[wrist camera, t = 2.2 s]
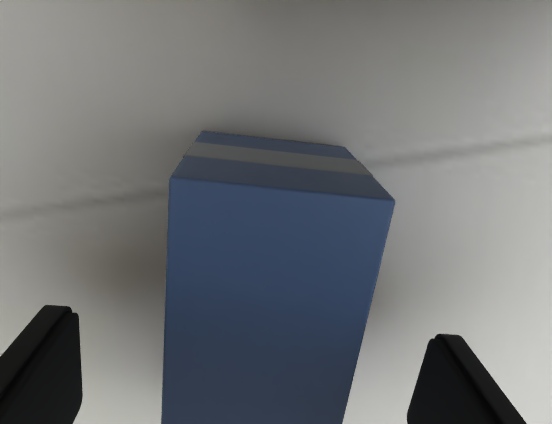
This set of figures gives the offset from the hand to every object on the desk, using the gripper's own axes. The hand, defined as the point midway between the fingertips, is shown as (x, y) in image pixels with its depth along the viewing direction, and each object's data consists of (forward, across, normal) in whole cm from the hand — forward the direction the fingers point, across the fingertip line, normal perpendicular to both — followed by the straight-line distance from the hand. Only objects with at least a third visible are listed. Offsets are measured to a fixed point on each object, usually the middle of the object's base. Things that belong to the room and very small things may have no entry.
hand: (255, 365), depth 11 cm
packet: (+4, 0, 0) cm, 4 cm away
